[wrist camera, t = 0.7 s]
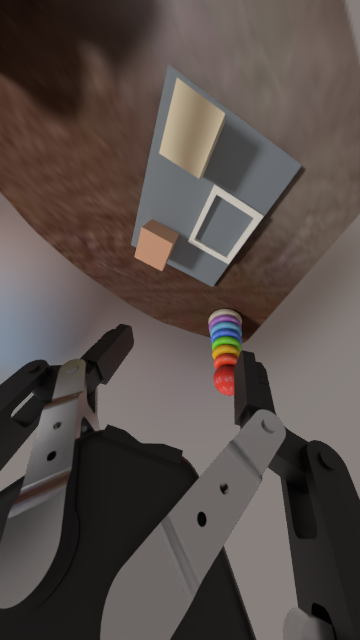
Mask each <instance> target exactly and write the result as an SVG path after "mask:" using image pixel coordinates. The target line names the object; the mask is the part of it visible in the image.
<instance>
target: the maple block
mask: <svg viewBox="0 0 360 640" xmlns="http://www.w3.org/2000/svg"><path fill="white" fill-rule="evenodd" d="M224 122H225V113H224V112H223V111H221V110H220V109H219V108H217V107H216V106H215V105H213V104H212V103H211V102H209V101H208V100H207V99H205V98H204V97H203V96H201V95H200V94H199V93H197V92H196V91H195V90H193V89H192V88H191V87H189V86H188V85H187V84H185V83H184V82H183V81H181V80H180V79H178V78H177V79H176V83H175V88H174V92H173V96H172V100H171V105H170V109H169V113H168V117H167V122H166V126H165V130H164V134H163V139H162V143H161V147H160V151H159V154H161V155H162V156H164V157H166V158H167V159H169V160H170V161H172V162H173V163H175V164H177V165H178V166H180V167H181V168H183V169H184V170H186V171H187V172H189V173H191V174H192V175H194V176H195V177H197V178H198V179H200V178H201V177H203V174H204V172H205V170H206V167H207V165H208V162H209V160H210V157H211V155H212V152H213V150H214V148H215V145H216V143H217V140H218V138H219V135H220V133H221V131H222V128H223V126H224Z"/></svg>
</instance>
